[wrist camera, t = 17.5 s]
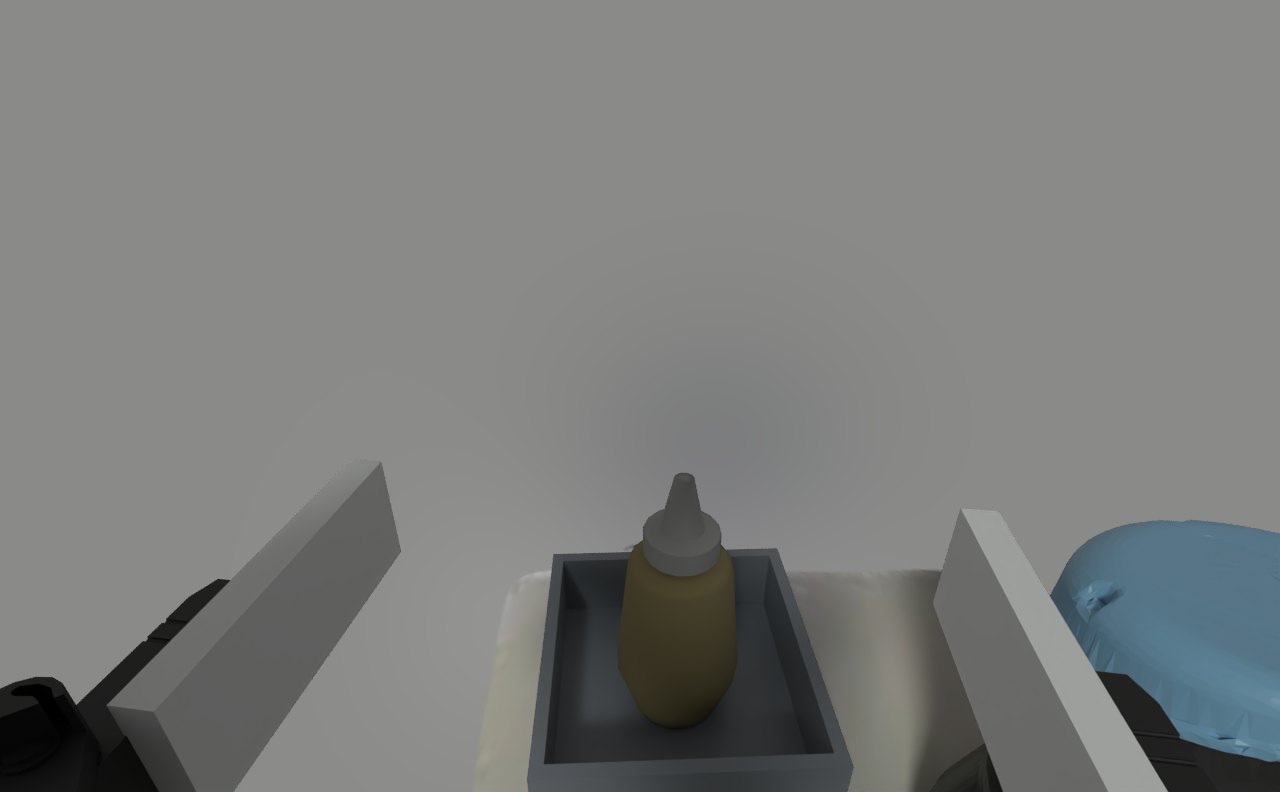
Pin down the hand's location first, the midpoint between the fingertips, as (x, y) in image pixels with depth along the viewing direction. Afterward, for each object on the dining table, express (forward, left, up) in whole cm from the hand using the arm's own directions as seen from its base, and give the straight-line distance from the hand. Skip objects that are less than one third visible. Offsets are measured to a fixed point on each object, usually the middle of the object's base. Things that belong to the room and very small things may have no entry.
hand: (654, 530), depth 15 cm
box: (-11, -14, -30) cm, 35 cm away
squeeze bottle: (-11, -14, -29) cm, 34 cm away
